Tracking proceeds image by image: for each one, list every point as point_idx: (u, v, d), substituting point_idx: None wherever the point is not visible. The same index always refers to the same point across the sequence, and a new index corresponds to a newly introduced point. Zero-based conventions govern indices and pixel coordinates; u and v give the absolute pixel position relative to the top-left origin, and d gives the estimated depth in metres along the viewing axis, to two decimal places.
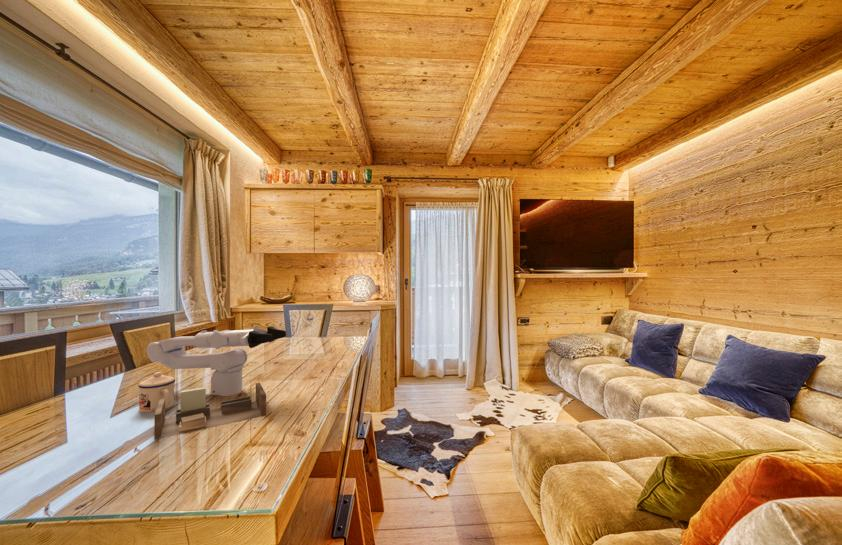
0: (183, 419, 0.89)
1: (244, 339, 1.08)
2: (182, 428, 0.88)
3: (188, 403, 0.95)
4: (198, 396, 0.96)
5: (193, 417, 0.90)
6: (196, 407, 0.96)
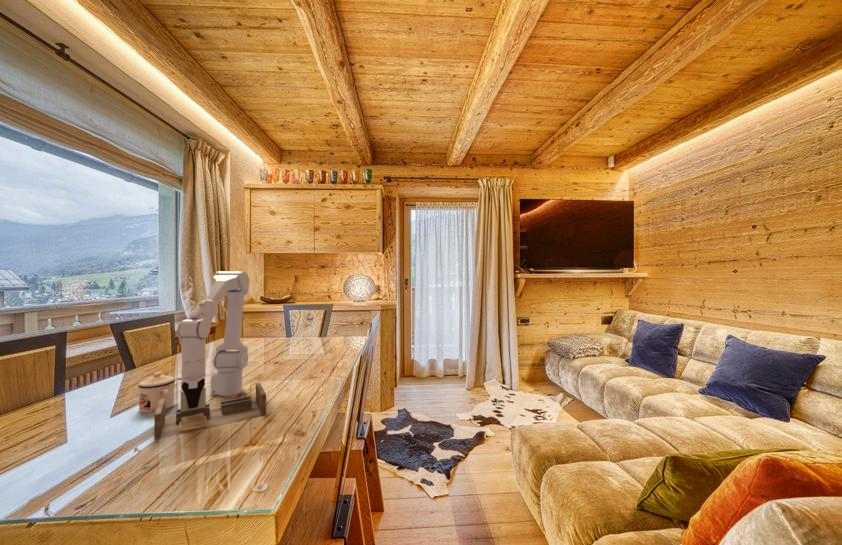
0: (183, 419, 0.89)
1: None
2: (182, 428, 0.88)
3: None
4: None
5: (193, 417, 0.90)
6: (196, 407, 0.96)
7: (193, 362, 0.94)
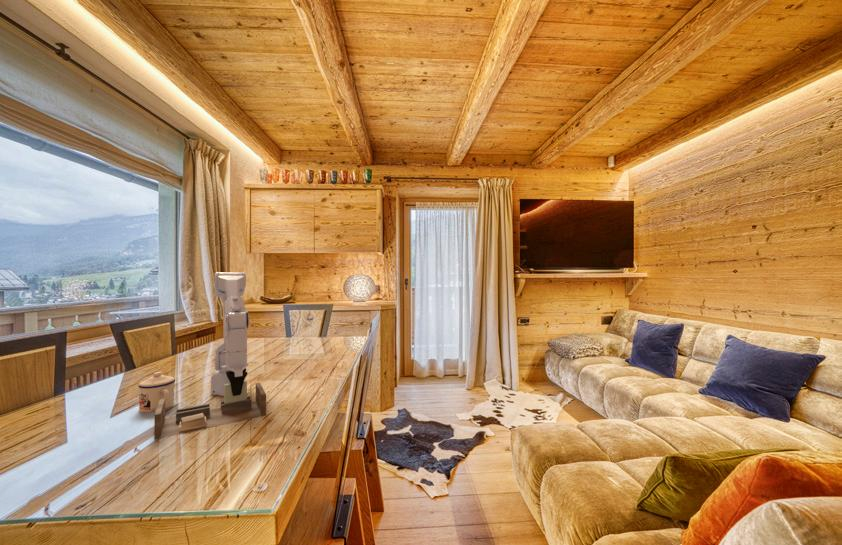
0: (183, 419, 0.89)
1: None
2: (182, 428, 0.88)
3: (231, 396, 1.01)
4: None
5: (193, 417, 0.90)
6: (238, 399, 1.02)
7: (237, 352, 1.00)
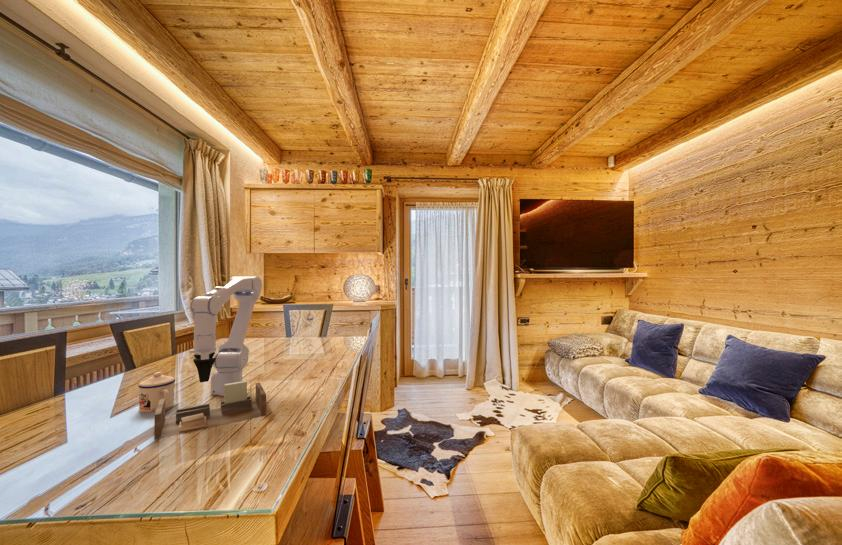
0: (183, 419, 0.89)
1: None
2: (182, 428, 0.88)
3: (231, 396, 1.01)
4: (240, 389, 1.02)
5: (193, 417, 0.90)
6: (238, 399, 1.02)
7: (205, 336, 1.00)
